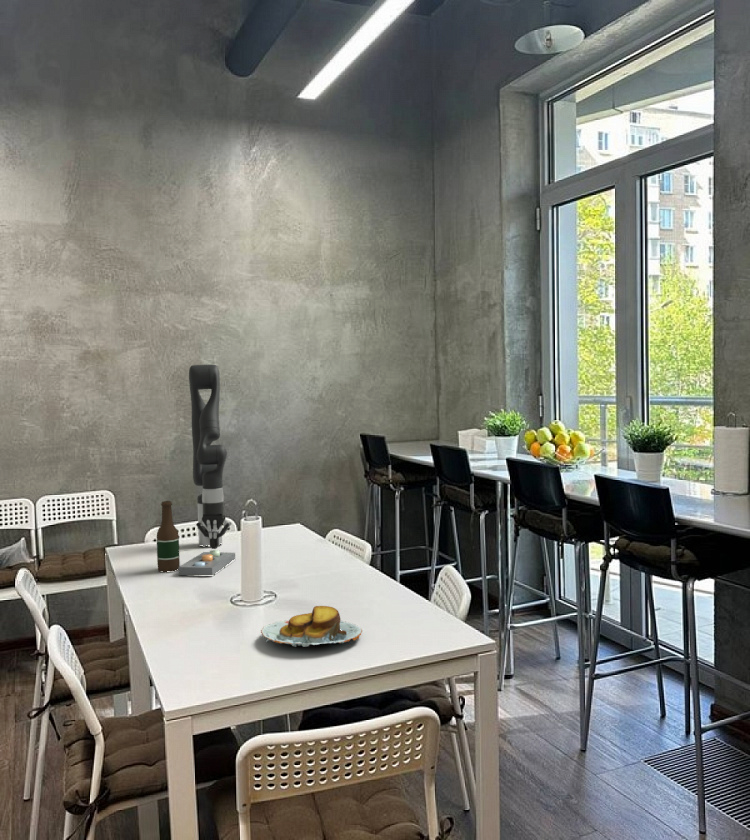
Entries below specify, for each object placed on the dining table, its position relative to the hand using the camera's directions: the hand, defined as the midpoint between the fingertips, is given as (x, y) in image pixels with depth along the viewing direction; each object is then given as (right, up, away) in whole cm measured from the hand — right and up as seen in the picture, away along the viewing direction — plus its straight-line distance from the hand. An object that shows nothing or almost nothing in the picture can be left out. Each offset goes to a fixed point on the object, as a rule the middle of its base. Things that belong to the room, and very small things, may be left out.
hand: (214, 548), depth 275 cm
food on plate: (+42, -10, -81) cm, 91 cm away
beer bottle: (-14, -6, -8) cm, 17 cm away
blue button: (-2, -6, -13) cm, 15 cm away
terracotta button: (-1, -4, -7) cm, 8 cm away
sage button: (0, -4, 0) cm, 4 cm away
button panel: (-1, -6, -6) cm, 9 cm away
